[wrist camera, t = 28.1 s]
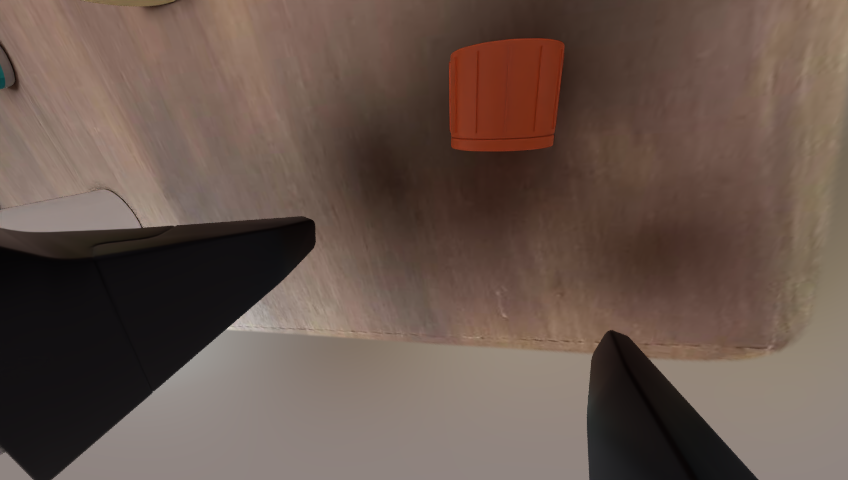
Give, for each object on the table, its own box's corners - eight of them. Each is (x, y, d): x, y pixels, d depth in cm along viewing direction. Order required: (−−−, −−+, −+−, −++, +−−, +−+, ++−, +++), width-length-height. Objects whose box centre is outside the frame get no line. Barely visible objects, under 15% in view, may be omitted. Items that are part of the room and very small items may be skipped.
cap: (563, 31, 8) (549, 151, 10) (566, 52, 12) (555, 140, 13) (433, 49, 10) (436, 151, 11) (468, 63, 13) (467, 141, 15)
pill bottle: (99, 224, 35) (-66, 268, 26) (94, 173, 31) (-106, 205, 22) (146, 268, 35) (-4, 329, 26) (147, 223, 30) (-33, 277, 21)
